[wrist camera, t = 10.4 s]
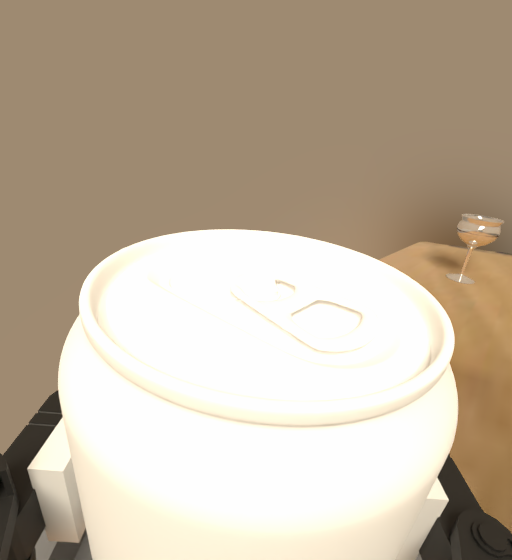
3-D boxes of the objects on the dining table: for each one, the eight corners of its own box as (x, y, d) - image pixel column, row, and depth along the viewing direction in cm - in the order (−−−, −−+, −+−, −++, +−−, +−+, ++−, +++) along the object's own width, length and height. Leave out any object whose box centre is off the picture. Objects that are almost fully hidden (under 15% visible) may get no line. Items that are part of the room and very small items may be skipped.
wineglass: (440, 279, 63) (461, 217, 58) (441, 269, 68) (460, 212, 63) (481, 289, 60) (507, 225, 55) (478, 277, 65) (502, 218, 60)
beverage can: (235, 439, 17) (257, 213, 12) (382, 576, 12) (521, 297, 7) (69, 572, 12) (-16, 256, 6) (220, 917, 7) (339, 731, 2)
